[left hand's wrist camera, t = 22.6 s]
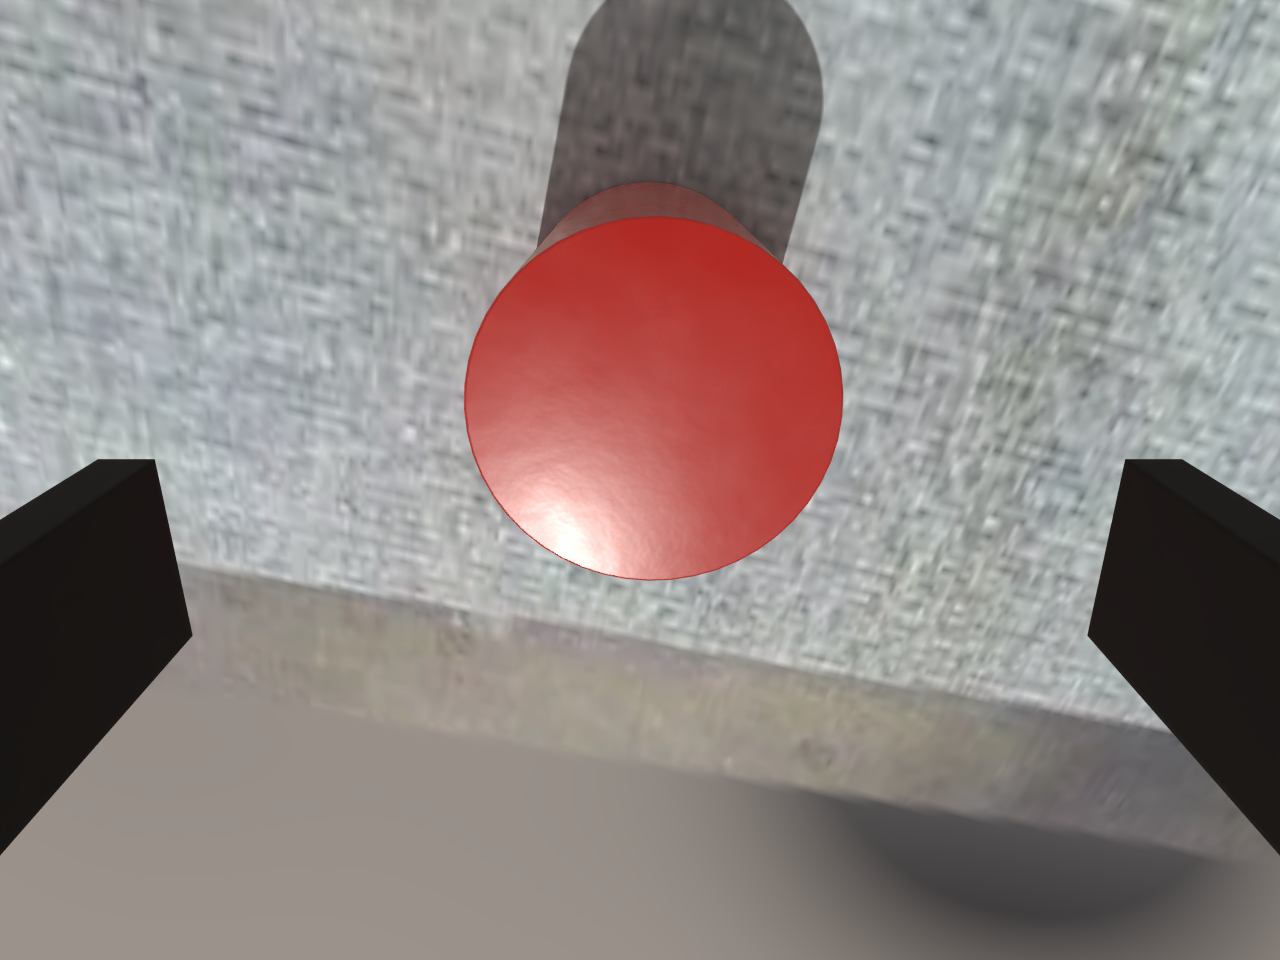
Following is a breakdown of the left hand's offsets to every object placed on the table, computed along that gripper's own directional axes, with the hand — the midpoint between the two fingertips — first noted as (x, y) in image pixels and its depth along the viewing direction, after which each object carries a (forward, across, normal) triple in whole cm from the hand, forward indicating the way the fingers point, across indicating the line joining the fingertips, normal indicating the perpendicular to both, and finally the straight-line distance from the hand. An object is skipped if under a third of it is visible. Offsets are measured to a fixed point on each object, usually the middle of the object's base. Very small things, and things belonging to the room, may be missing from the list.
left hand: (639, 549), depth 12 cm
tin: (+20, 0, 0) cm, 20 cm away
